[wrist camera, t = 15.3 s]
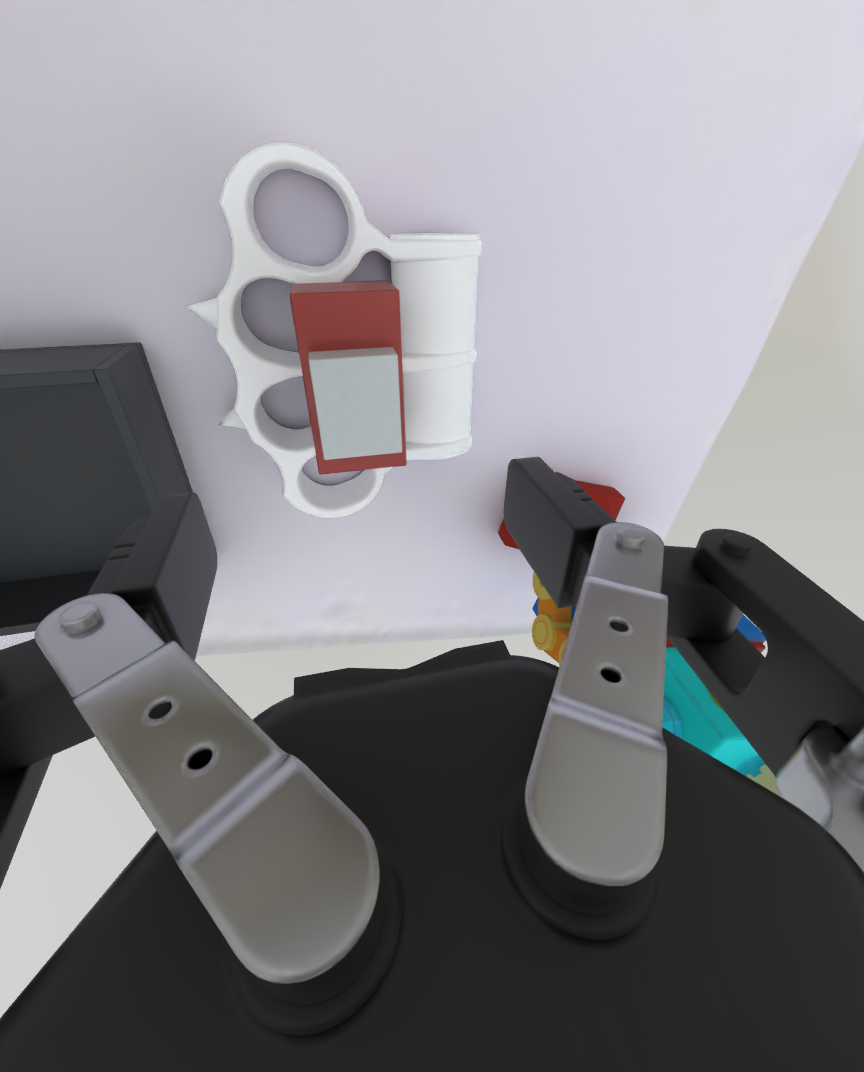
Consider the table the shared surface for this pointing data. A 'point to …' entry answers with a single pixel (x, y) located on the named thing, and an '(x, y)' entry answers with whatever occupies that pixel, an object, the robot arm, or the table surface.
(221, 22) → the table surface
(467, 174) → the table surface
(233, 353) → the knuckle duster
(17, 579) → the storage box
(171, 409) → the table surface
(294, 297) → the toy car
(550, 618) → the toy robot
